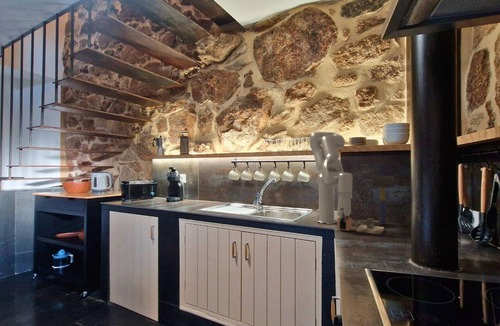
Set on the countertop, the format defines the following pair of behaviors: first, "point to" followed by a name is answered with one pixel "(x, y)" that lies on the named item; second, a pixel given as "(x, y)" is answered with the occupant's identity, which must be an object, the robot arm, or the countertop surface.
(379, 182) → the rubber mallet
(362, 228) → the post base
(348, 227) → the orange brown cube
